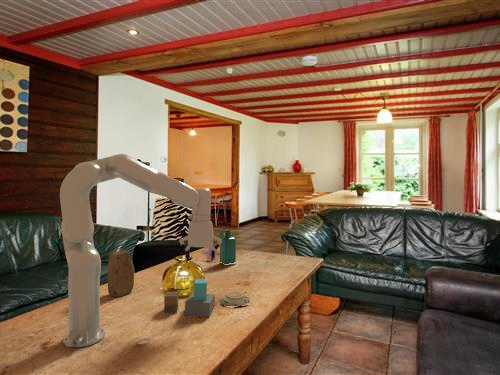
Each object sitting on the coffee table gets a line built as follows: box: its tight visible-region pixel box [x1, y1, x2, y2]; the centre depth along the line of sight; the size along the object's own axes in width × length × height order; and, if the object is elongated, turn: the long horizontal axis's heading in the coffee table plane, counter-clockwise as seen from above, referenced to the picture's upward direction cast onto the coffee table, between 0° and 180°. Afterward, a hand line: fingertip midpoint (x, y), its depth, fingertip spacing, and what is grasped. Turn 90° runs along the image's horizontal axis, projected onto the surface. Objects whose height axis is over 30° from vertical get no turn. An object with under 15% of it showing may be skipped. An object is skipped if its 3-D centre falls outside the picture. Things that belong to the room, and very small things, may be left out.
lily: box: [201, 247, 220, 261], centre depth 218 cm, size 12×12×10 cm
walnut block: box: [163, 291, 179, 314], centre depth 136 cm, size 5×5×7 cm
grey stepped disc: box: [218, 291, 251, 307], centre depth 147 cm, size 15×4×15 cm
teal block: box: [193, 278, 208, 301], centre depth 135 cm, size 5×5×7 cm
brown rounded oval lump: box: [107, 249, 135, 298], centre depth 155 cm, size 11×8×20 cm
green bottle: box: [218, 229, 237, 264], centre depth 209 cm, size 10×8×22 cm
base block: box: [184, 292, 216, 318], centre depth 136 cm, size 10×10×6 cm
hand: (200, 260), depth 135 cm, fingers open, 9 cm apart
